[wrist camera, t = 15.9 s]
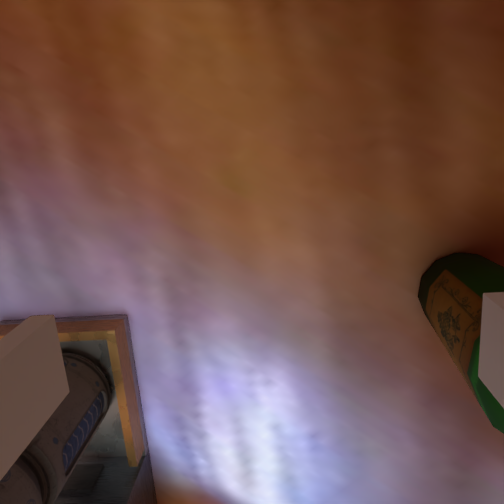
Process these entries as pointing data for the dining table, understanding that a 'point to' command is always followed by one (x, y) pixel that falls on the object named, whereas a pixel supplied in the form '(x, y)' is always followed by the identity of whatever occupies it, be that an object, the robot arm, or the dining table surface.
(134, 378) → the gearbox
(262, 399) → the dining table surface
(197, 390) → the dining table surface
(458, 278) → the bottle
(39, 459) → the beverage bottle
